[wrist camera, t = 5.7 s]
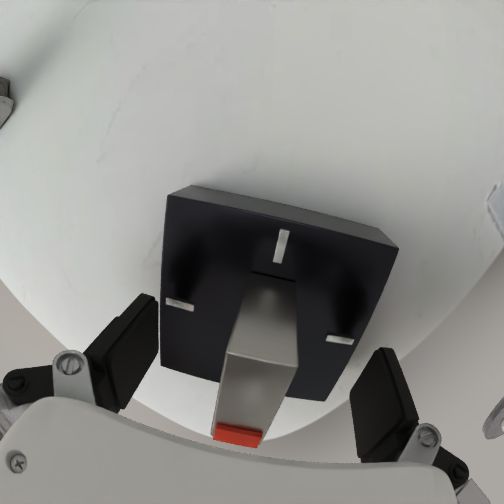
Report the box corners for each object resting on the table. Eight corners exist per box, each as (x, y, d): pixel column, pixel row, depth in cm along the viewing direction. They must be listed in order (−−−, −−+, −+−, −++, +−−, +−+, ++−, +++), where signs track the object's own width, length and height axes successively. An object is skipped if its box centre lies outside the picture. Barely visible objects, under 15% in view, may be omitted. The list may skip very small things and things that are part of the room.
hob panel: (379, 228, 13) (401, 249, 10) (321, 368, 17) (325, 404, 14) (190, 184, 14) (165, 195, 11) (176, 336, 17) (159, 367, 14)
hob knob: (249, 271, 11) (223, 357, 7) (296, 281, 11) (299, 372, 7) (231, 356, 13) (208, 440, 8) (269, 364, 13) (259, 451, 8)
